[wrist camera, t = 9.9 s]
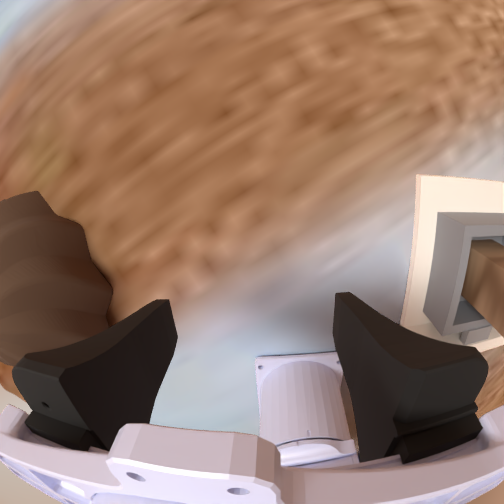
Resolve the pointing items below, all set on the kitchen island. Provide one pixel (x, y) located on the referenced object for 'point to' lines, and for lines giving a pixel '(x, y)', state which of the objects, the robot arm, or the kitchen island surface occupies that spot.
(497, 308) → the walnut rail post
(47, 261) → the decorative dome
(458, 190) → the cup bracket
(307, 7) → the kitchen island surface
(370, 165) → the kitchen island surface
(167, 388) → the kitchen island surface
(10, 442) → the robot arm
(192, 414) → the kitchen island surface
